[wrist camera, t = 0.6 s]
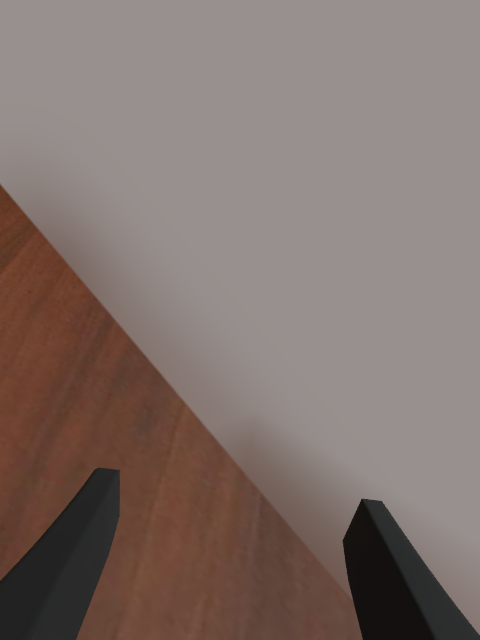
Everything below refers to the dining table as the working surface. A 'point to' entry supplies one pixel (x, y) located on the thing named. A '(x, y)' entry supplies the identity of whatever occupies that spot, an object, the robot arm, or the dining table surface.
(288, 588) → the dining table surface
